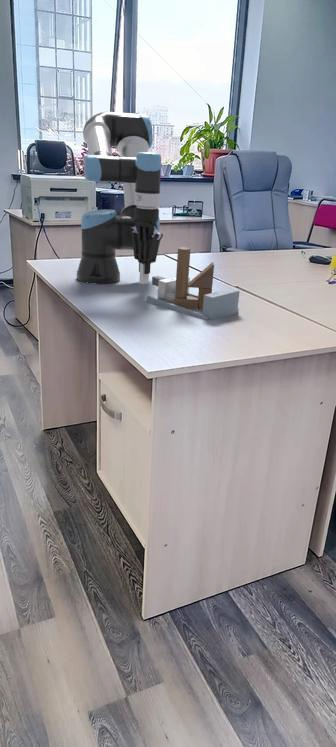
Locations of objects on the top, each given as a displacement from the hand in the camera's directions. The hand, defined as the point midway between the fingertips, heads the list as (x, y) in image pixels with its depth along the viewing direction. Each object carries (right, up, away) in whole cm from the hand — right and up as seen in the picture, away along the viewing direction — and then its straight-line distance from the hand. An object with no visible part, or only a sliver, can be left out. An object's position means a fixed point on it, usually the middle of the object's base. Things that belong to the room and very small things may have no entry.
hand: (143, 283), depth 173 cm
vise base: (+15, -10, -12) cm, 22 cm away
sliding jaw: (+7, -6, -5) cm, 10 cm away
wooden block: (+15, -10, -13) cm, 22 cm away
